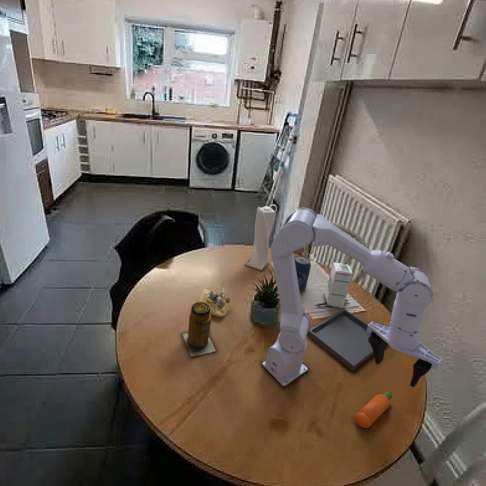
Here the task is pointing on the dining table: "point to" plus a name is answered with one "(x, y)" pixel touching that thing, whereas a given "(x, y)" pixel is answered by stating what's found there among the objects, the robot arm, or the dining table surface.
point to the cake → (216, 301)
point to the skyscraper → (262, 237)
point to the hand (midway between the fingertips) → (395, 372)
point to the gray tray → (344, 338)
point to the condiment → (199, 330)
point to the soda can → (302, 270)
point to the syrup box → (338, 284)
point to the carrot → (373, 409)
